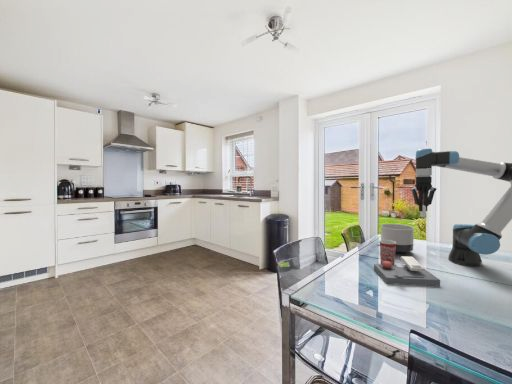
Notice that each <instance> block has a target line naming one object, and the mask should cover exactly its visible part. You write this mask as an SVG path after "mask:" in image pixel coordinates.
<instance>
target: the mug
mask: <svg viewBox="0 0 512 384" xmlns="http://www.w3.org/2000/svg"><path fill="white" fill-rule="evenodd" d="M396 244H397V243H396V242H395V241H391V240H381V239H380V240H379V253H380V254H379V255H380V264H382V262H383V261H389V262H391V263H392V265H395V259H396V253H395V251H396Z"/></svg>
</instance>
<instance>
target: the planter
mask: <svg viewBox="0 0 512 384" xmlns="http://www.w3.org/2000/svg"><path fill="white" fill-rule="evenodd" d="M380 227H381V228H380V240H391V241H395V242H396V243H397V244H396V251H395V254H406V253H407V252H412V251H414V236H415V234H414V233H415V232H414V231H415V229H414V227H413V226H411V225H408V224H407V225H406V224H402V223H401V224H400V223H399V224H398V223H384V224H383V223H382V224H381V226H380Z"/></svg>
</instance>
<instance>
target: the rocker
mask: <svg viewBox="0 0 512 384" xmlns="http://www.w3.org/2000/svg"><path fill="white" fill-rule="evenodd" d="M400 260H401V261H402V262H403V264H404V265H406V266H407V267H408V268H409V269H410V270H411V271H424V269H425V268H424V266H422V264H421V263H420V262H418V261H417V259H416V258H414V256H400Z"/></svg>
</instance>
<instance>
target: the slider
mask: <svg viewBox="0 0 512 384" xmlns="http://www.w3.org/2000/svg"><path fill="white" fill-rule="evenodd" d="M395 265H396V275H397V276H398V277H403V273H404V267H403V266H402V265H403V264H395Z"/></svg>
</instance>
